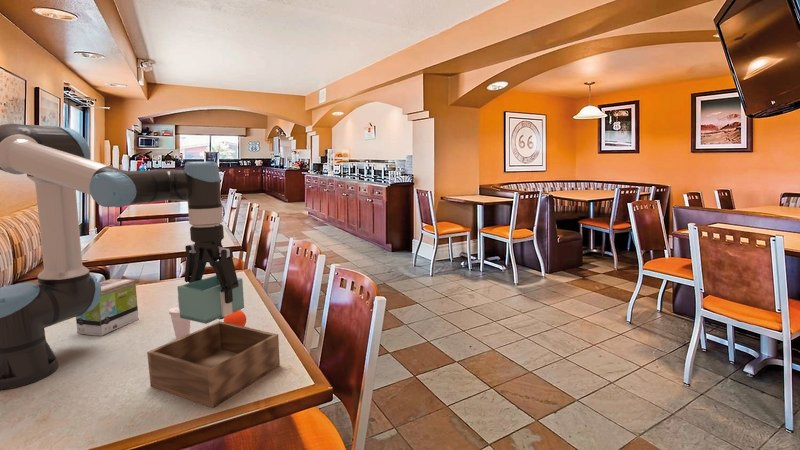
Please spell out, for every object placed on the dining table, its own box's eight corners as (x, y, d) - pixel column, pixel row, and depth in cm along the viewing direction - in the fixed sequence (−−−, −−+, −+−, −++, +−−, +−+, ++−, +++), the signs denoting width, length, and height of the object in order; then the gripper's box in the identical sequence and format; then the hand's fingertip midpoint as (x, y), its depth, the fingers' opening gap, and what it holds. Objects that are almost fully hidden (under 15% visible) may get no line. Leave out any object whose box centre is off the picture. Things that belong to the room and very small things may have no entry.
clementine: (224, 327, 143) (222, 307, 142) (245, 324, 146) (244, 304, 145) (224, 336, 136) (223, 314, 135) (247, 332, 139) (246, 311, 138)
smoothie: (169, 343, 131) (165, 299, 129) (174, 335, 137) (170, 293, 135) (192, 341, 133) (188, 297, 130) (195, 333, 139) (192, 291, 137)
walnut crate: (213, 407, 97) (210, 370, 96) (150, 386, 107) (147, 352, 105) (279, 365, 117) (278, 334, 115) (221, 350, 126) (219, 321, 125)
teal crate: (205, 323, 102) (203, 291, 100) (180, 317, 106) (177, 286, 104) (244, 307, 112) (242, 278, 111) (219, 303, 116) (217, 274, 115)
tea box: (103, 336, 136) (97, 292, 134) (76, 334, 138) (71, 290, 136) (140, 319, 151) (135, 278, 149) (115, 317, 153) (111, 277, 151)
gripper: (251, 225, 104) (256, 313, 108) (189, 220, 113) (196, 301, 117) (226, 230, 97) (233, 324, 101) (163, 224, 107) (171, 310, 110)
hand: (213, 311), depth 109 cm, fingers closed on teal crate, 9 cm apart
